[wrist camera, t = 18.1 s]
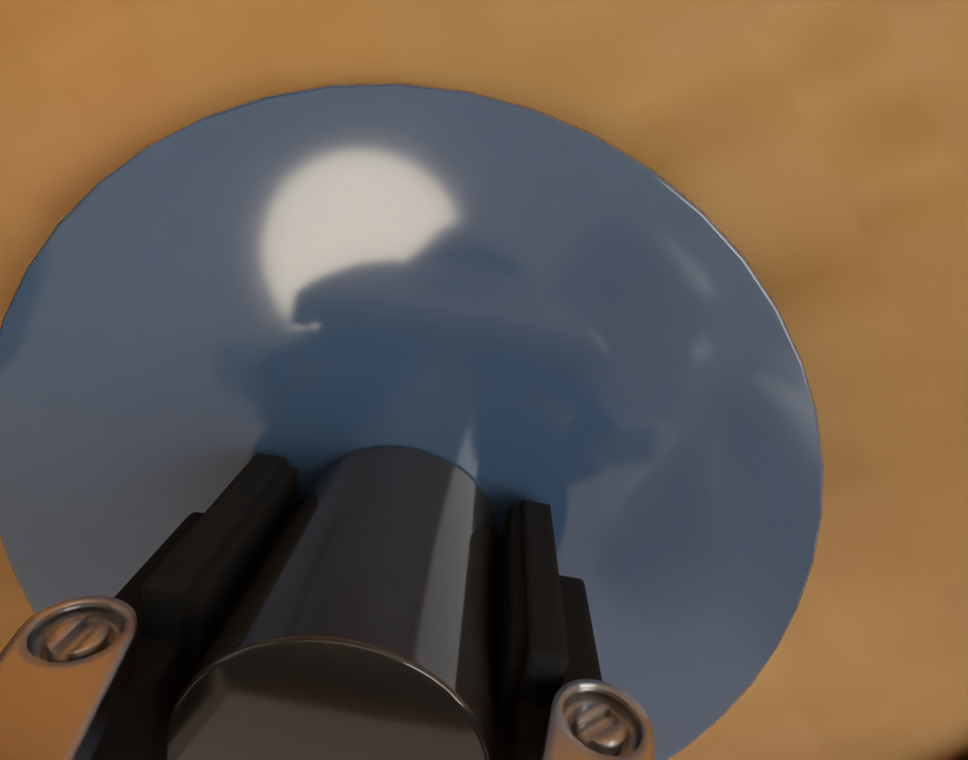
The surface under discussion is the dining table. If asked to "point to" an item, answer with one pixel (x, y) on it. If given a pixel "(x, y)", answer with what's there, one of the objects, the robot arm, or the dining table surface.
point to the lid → (411, 415)
